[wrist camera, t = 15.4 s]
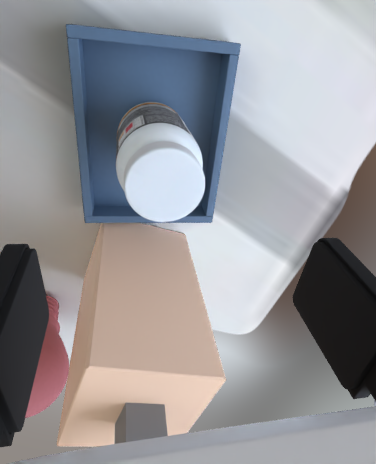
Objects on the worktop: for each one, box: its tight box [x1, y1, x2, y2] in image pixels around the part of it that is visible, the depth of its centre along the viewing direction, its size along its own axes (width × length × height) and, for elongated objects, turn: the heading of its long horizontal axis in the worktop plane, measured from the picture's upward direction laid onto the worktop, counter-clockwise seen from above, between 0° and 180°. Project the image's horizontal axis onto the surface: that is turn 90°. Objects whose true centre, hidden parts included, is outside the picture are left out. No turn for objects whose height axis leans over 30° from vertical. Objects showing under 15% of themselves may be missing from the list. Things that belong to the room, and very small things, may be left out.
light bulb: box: [25, 295, 69, 418], centre depth 29 cm, size 7×7×12 cm
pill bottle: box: [116, 102, 205, 222], centre depth 22 cm, size 6×6×10 cm
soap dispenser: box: [57, 223, 226, 447], centre depth 25 cm, size 13×9×22 cm
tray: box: [66, 24, 241, 223], centre depth 25 cm, size 14×11×3 cm
